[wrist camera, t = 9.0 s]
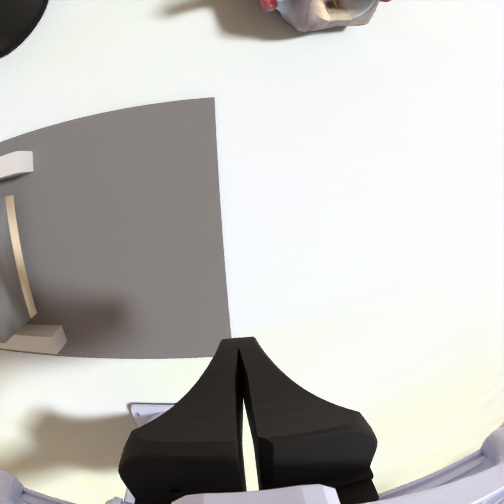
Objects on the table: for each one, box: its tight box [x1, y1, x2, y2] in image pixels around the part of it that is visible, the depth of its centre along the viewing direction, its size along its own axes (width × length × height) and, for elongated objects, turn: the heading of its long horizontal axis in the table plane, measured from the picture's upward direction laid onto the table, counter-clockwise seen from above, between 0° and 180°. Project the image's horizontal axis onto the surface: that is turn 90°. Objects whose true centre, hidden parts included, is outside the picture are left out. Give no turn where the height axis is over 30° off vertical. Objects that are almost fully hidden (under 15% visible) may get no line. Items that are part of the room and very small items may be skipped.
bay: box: [0, 97, 231, 359], centre depth 17 cm, size 18×31×4 cm, turn 93°
